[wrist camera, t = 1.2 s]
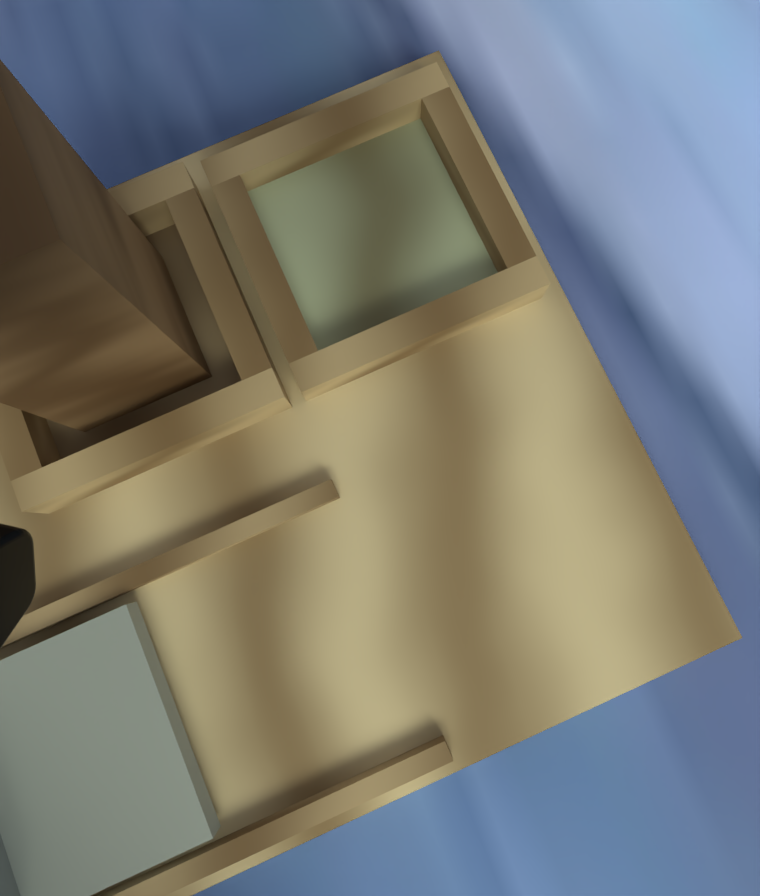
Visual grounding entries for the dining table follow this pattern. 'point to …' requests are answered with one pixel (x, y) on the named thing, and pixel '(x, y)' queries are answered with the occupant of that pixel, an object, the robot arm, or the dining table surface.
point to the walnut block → (79, 286)
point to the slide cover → (93, 762)
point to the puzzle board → (359, 479)
